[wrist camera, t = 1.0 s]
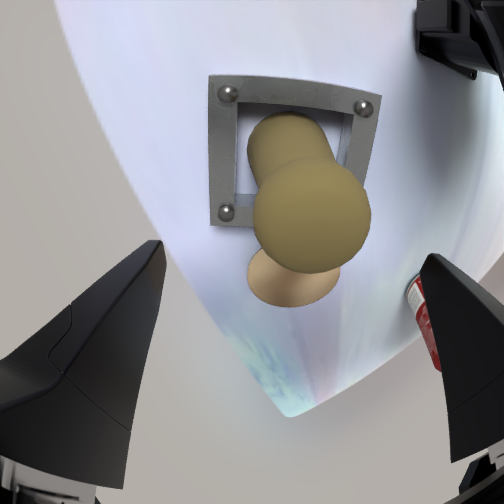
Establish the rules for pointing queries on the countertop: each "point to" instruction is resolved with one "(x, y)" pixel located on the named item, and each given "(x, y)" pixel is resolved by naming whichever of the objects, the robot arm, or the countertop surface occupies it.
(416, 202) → the countertop surface
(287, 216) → the pepper shaker
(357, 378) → the countertop surface
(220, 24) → the countertop surface
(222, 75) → the grey square frame
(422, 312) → the soda can
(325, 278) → the cork coaster
